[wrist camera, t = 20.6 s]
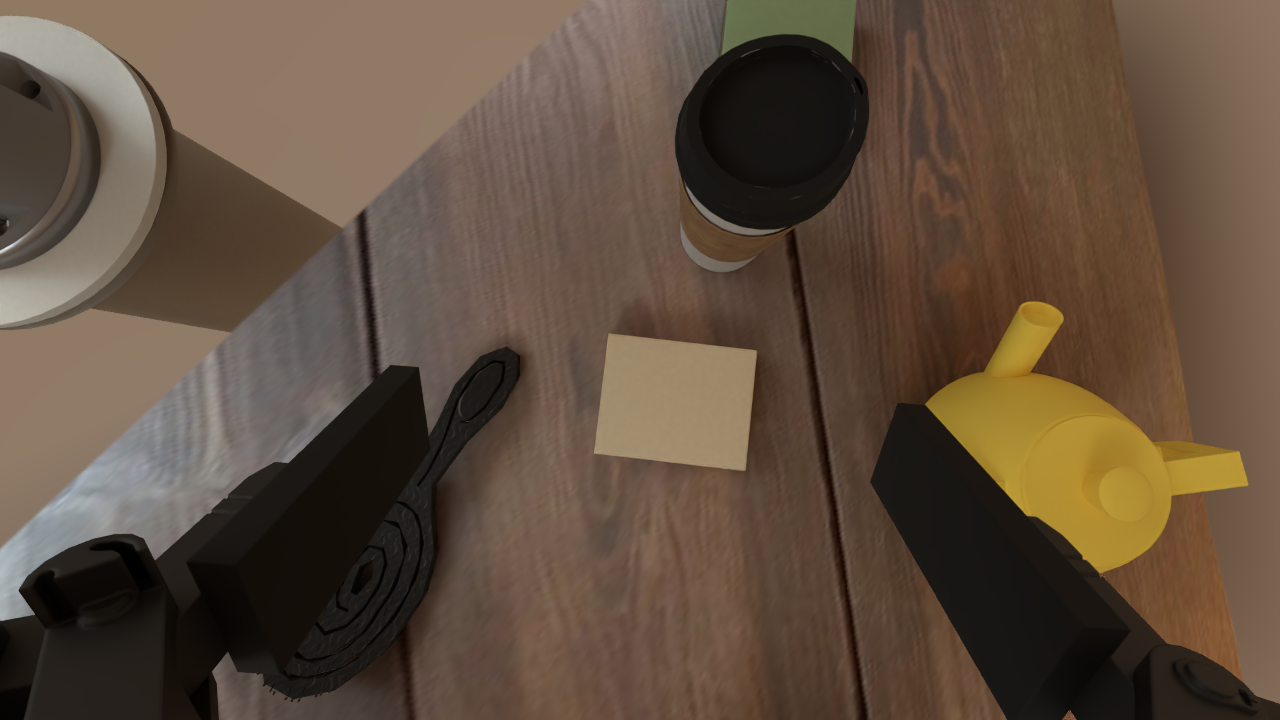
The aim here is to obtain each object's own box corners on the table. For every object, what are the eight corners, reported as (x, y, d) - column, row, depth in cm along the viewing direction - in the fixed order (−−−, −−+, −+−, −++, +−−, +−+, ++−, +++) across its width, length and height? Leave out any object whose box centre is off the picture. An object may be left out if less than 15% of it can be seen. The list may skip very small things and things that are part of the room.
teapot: (823, 338, 35) (907, 308, 24) (1072, 308, 36) (1268, 265, 24) (867, 630, 34) (979, 742, 23) (1128, 598, 34) (1367, 693, 23)
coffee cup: (796, 268, 36) (908, 171, 21) (684, 305, 36) (717, 234, 21) (756, 161, 37) (837, -7, 22) (646, 197, 36) (651, 52, 21)
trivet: (711, 124, 37) (716, 104, 34) (723, 9, 38) (729, -17, 35) (833, 137, 37) (847, 118, 34) (843, 22, 37) (857, -3, 35)
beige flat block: (596, 450, 35) (593, 453, 33) (610, 337, 35) (608, 333, 33) (739, 467, 35) (745, 471, 33) (750, 353, 35) (757, 350, 33)
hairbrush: (557, 379, 32) (321, 739, 29) (565, 383, 36) (355, 704, 33) (451, 311, 33) (207, 659, 30) (469, 322, 36) (253, 634, 33)
